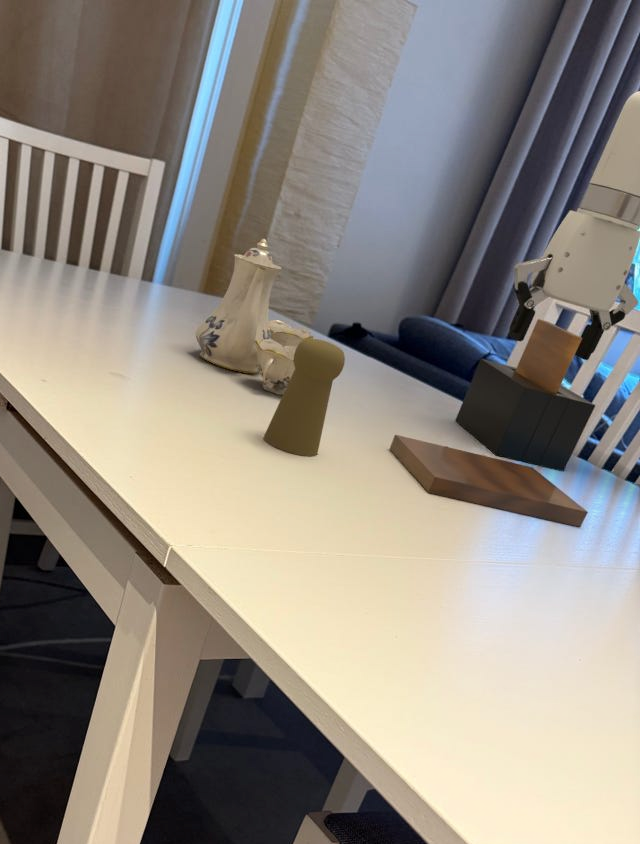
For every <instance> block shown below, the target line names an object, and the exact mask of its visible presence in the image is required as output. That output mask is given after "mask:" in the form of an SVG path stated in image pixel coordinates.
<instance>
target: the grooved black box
mask: <svg viewBox="0 0 640 844" xmlns="http://www.w3.org/2000/svg"><path fill="white" fill-rule="evenodd" d="M516 368H517V367H514V366H511V365H507V364H504V363H499V362H495V361H491V360H487V359H484V358H480V359H479V362H478V364H477V367H476V369H475V371H474V373H473V377H472V378H471V381H470V384H469V386H468V389H467V391H466V394H465V396H464V398H463V400H462V403H461V405H460V408H459V410H458V413H457V415H456V416H455V417H456V418H455V420H454V421H455V422H456V423H457V424H459V425H460V427H462V428H463V429H465V430H466V431H467V432H468V433H470V435H472V436H473V438H475V439H476V440H478V441H479V442H480V443H481V444H482V445H483V446H484V447H486V448H487V449H488V450H489V451H490V452H492V453H493V454H494V455H495V456H497V457H502V458H507V459H510V460H514V461H519V462H523V461H524V462H523V463H527V462H529V463H528V464H531V463H533V464H532V465H535V464H537V465H536V466H540V465H541V466H540V467H545V468H548V467H550V468H549V469H552V468H554V469H553V470H556V469H559V470H558V471H560V470H563V471H562V472H565V469H566V467H567V465H568V463H569V461H570V459H571V457H572V455H573V453H574V451H575V449H576V447H577V445H578V443H579V440H580V439H581V436H582V434H583V432H584V430H585V429H586V427H587V424H588V422H589V420H590V418H591V416H592V414H593V412H594V410H595V408H596V404H594V403H592V402H590V401H589V400H587V399H586V398H584V397H583V396H580V394H577V393H576V392H574V391H572V390H570V389H569V388H567V387H565V386H563V385H562V384H561V385H560V388H559V390H558V392H557V393H554V392H550V391H546V390H544V389H543V388H541V387H539V386H538V385H536V384H535V383H533V382H531V381H530V380H528V379H526V378H525V377H523V376H522V375H520V374H518V373H517V372H515V370H516Z"/></svg>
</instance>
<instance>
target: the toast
mask: <svg viewBox="0 0 640 844" xmlns="http://www.w3.org/2000/svg"><path fill="white" fill-rule="evenodd" d="M581 340H582V338H581V336H579V335H577V334H575V333H573V332H571V331H569V330H566V329H565V328H562V327H560V326H558V325H557V324H554V323H552V322H550V321H548V320H544V319H540V318H538V319H537V320H536V322H535V325H534V327H533V329H532V332H531V333H530V336H529V338H528V340H527V343H526V345H525V348H524V349H523V352H522V355H521V357H520V359H519V361H518V364H517V365H516V367H515V368H516V370H515V372H517V373H518V374H520V375H522V376H523V377H525V378H526V379H528V380H530V381H531V382H533V383H535V384H536V385H538V386H539V387H541V388H543V389H544V390H546V391H550V392H554V393H557V392H558V390H559V388H560V385H562V383H563V381H564V379H565V376H566V375H567V372H568V370H569V368H570V366H571V363H572V361H573V359H574V357H575V356H576V355H575V353H576V351H577V349H578V346H579V344H580V342H581Z"/></svg>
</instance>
